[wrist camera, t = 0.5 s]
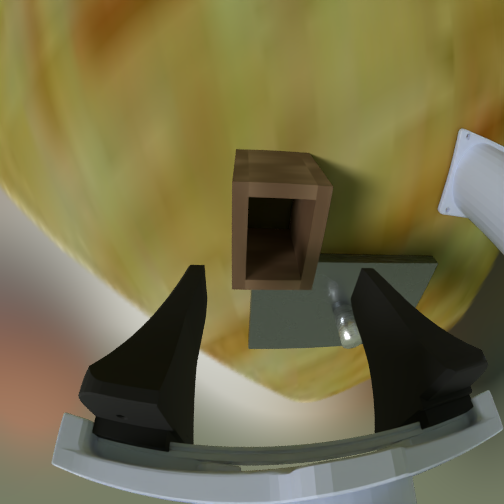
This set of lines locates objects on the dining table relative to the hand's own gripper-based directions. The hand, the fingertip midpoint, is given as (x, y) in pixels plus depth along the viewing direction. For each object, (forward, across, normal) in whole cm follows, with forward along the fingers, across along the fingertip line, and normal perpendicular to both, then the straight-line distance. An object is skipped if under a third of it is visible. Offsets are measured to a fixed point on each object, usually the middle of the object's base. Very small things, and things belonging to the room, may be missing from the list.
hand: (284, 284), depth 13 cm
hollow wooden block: (+9, 0, 0) cm, 9 cm away
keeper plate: (+9, -8, +11) cm, 17 cm away
